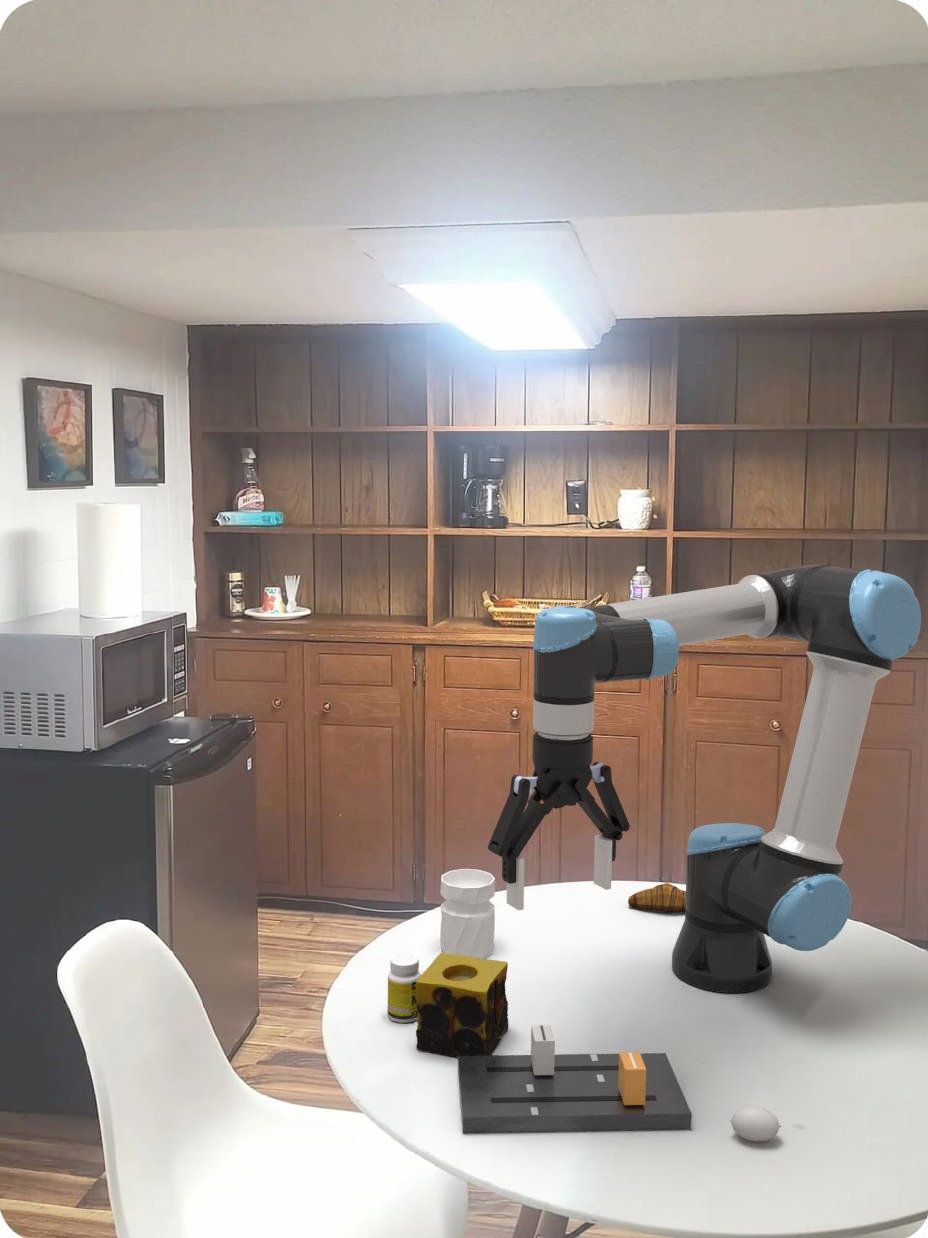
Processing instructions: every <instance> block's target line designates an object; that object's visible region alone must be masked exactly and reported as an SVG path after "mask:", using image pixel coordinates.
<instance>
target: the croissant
mask: <svg viewBox="0 0 928 1238" xmlns="http://www.w3.org/2000/svg"><path fill="white" fill-rule="evenodd" d="M627 903H628V906H629V907H631V908H634V909H637V910H643V911H650V912H659V913H663V914H664V913H666V914H671V913H672V914H673V913H674V914H675V913H685V908H686V907H685V906H686V890H683V889H680V888H679V887H677V886H676V885H674V884H671V883H668V882H666V883H662V884H657V885H655V886H653V887H652V888H647V889H644V890H641V891H637V892H635V893H634V894H632V895H630V896H628V900H627Z"/></svg>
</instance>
